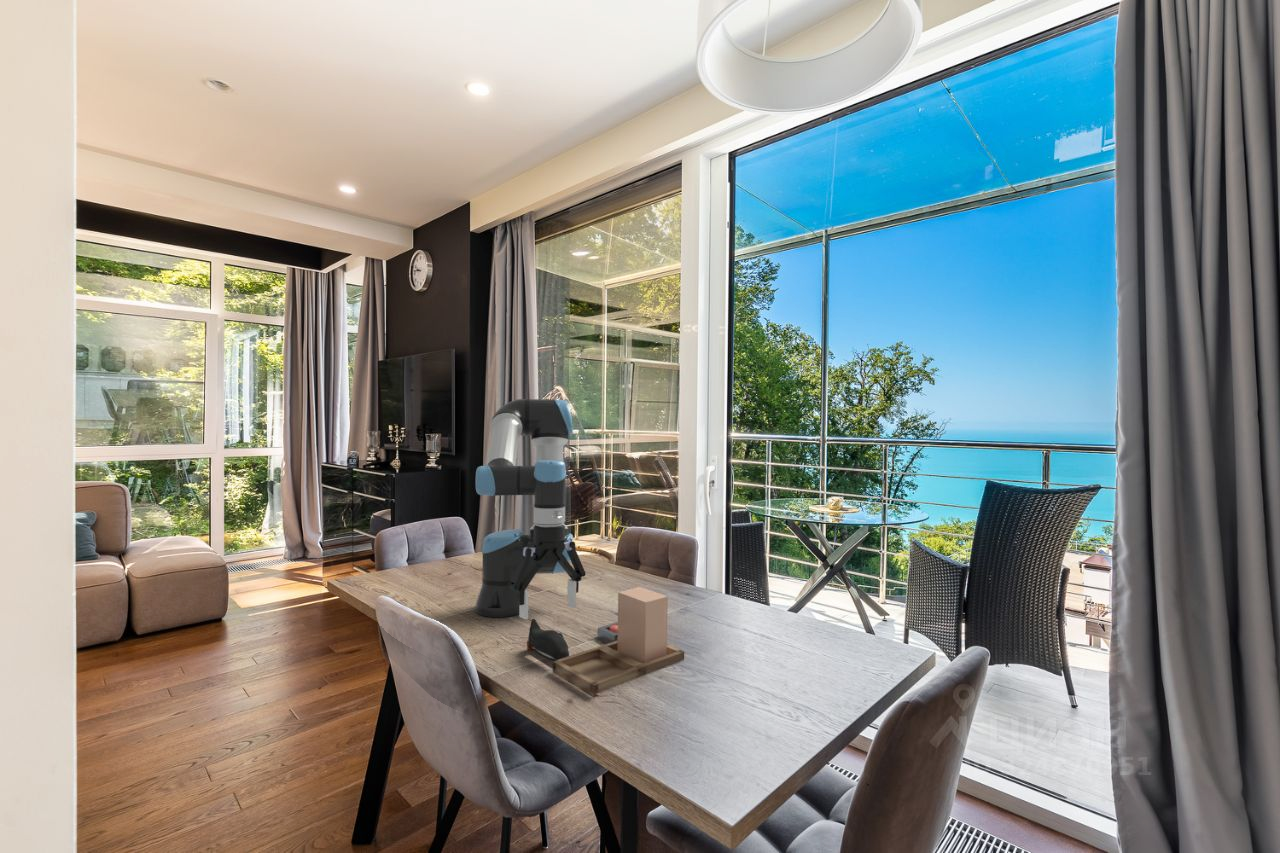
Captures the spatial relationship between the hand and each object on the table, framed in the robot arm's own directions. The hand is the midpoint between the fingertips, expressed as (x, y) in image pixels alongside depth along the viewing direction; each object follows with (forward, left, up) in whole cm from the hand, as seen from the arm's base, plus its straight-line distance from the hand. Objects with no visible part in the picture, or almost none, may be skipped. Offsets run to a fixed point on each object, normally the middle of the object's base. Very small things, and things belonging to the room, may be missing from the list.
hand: (548, 612), depth 140 cm
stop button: (+3, +19, -10) cm, 22 cm away
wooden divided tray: (+16, +10, -11) cm, 21 cm away
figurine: (0, 0, -11) cm, 11 cm away
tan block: (+16, +17, -10) cm, 25 cm away
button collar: (+3, +19, -11) cm, 22 cm away
